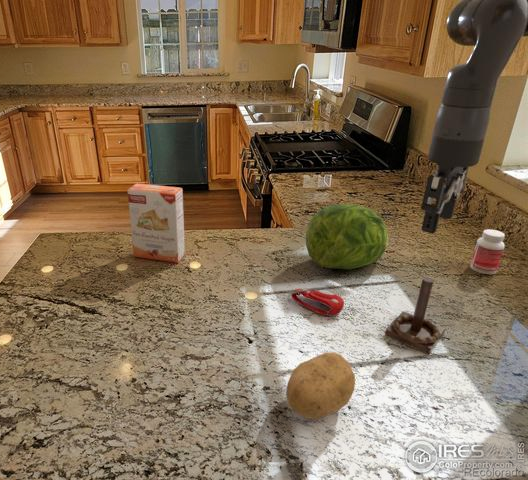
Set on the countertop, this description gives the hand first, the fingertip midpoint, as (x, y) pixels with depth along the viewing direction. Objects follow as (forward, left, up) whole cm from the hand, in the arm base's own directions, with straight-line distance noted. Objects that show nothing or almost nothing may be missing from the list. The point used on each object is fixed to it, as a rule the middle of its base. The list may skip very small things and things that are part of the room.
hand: (436, 224), depth 76 cm
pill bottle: (-3, -44, -27) cm, 51 cm away
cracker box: (+67, +10, -27) cm, 73 cm away
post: (0, -4, -27) cm, 27 cm away
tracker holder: (+21, 0, -27) cm, 34 cm away
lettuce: (+26, -23, -27) cm, 44 cm away
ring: (0, -3, -25) cm, 25 cm away
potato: (+5, +27, -27) cm, 39 cm away
